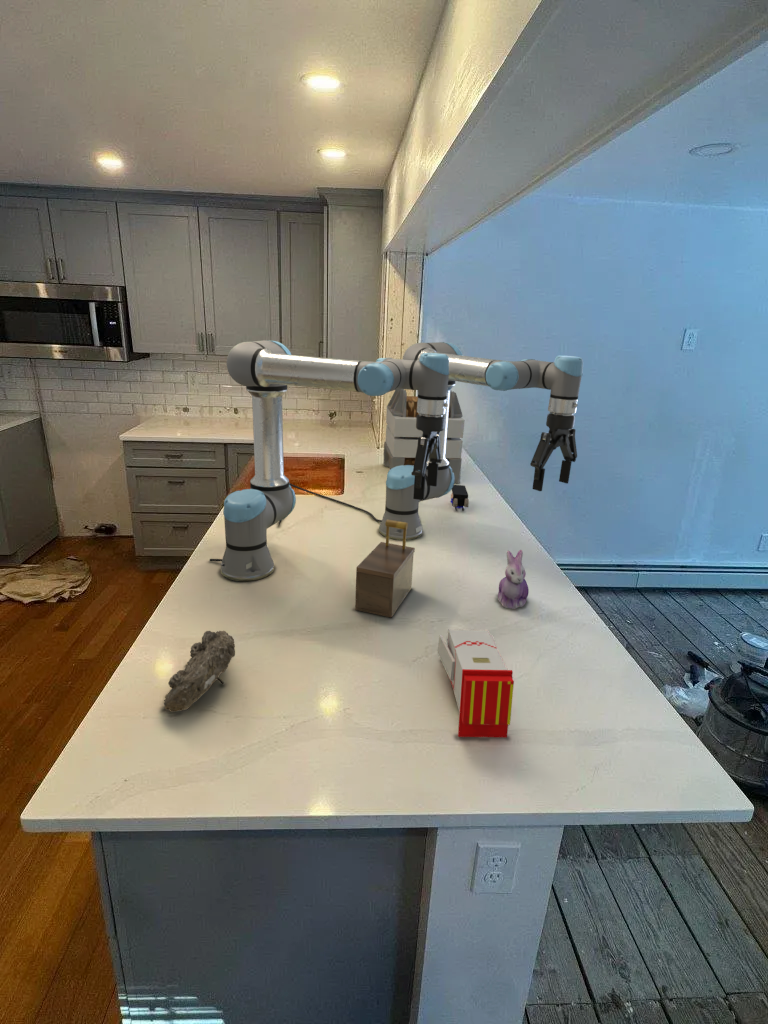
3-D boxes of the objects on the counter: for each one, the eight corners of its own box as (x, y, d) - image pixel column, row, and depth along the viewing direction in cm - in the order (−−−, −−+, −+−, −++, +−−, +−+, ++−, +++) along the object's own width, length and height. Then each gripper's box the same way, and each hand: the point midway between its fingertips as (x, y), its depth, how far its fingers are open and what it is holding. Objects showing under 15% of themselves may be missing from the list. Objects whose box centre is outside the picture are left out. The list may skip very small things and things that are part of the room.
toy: (488, 613, 130) (523, 677, 101) (484, 667, 133) (517, 744, 104) (435, 612, 130) (455, 676, 101) (432, 666, 133) (451, 743, 103)
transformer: (382, 463, 289) (386, 382, 275) (445, 464, 293) (451, 384, 279) (390, 482, 257) (394, 392, 243) (460, 483, 261) (468, 394, 247)
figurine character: (468, 516, 224) (463, 500, 237) (471, 498, 221) (465, 483, 234) (452, 515, 224) (447, 499, 237) (453, 498, 220) (449, 482, 234)
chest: (378, 582, 164) (379, 547, 160) (411, 588, 161) (413, 553, 157) (355, 609, 149) (356, 571, 145) (391, 617, 146) (393, 579, 142)
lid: (380, 545, 161) (382, 516, 158) (414, 551, 158) (416, 521, 155) (356, 571, 145) (357, 539, 142) (393, 579, 142) (395, 545, 139)
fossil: (188, 633, 127) (235, 602, 122) (218, 661, 130) (265, 632, 125) (141, 705, 107) (195, 672, 102) (177, 737, 110) (232, 706, 105)
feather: (294, 505, 227) (296, 501, 226) (277, 528, 200) (280, 524, 199) (290, 503, 226) (292, 499, 226) (273, 526, 200) (276, 521, 199)
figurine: (511, 613, 150) (518, 561, 145) (487, 596, 158) (493, 547, 153) (538, 606, 154) (546, 556, 149) (513, 590, 163) (520, 542, 157)
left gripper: (432, 424, 136) (426, 507, 143) (455, 409, 158) (449, 482, 165) (402, 421, 138) (398, 503, 145) (429, 406, 160) (424, 478, 167)
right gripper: (547, 419, 148) (536, 496, 155) (596, 411, 163) (584, 482, 171) (523, 415, 153) (514, 489, 160) (573, 407, 169) (562, 476, 176)
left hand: (425, 492), depth 155 cm, fingers open, 13 cm apart
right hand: (550, 486), depth 165 cm, fingers open, 13 cm apart
